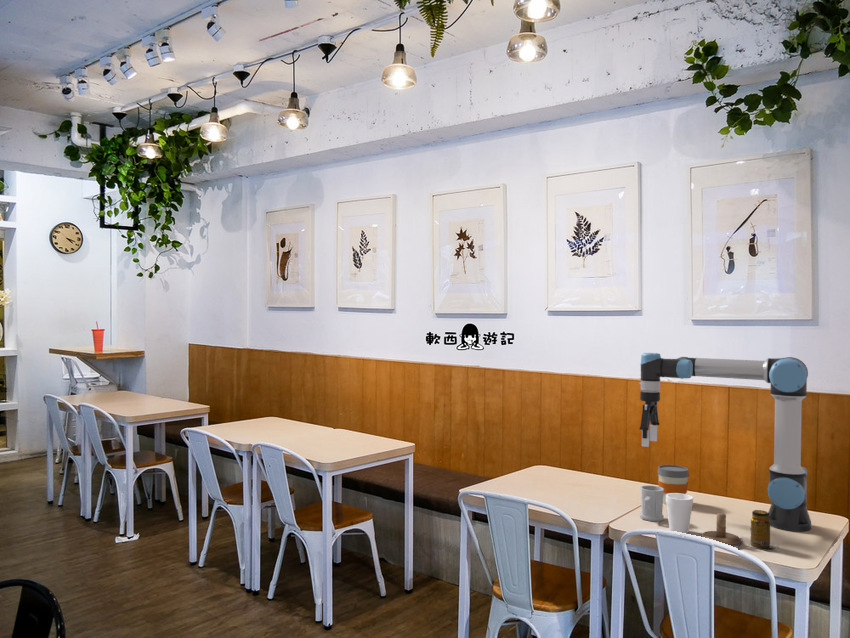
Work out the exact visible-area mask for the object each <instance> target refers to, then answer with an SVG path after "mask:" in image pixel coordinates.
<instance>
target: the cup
mask: <svg viewBox="0 0 850 638" xmlns="http://www.w3.org/2000/svg"><path fill="white" fill-rule="evenodd" d="M639 490H640V513H639V517H640V518H641V519H642V520H643V521H644V520H645V521H647V522H662V521H663V520H664V515H663V507H664V506H663V505H664V504H663V494H664V489H663V488H662V487H659V485H658V486H657V485H651V484H650V485H649V484H647V485H641V486H640V487H639Z"/></svg>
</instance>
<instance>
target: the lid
mask: <svg viewBox="0 0 850 638" xmlns="http://www.w3.org/2000/svg"><path fill="white" fill-rule="evenodd" d="M726 525H727V515H726V513H721V512H719V513H718V512H717V513H716V527H715V528H716V530H709V531H708V530H707V531H704V532H703V533H702V537H705V538H709V539H713V540H716V541H719V542H722V543H725V544H728V545H731V546H733V545H738V544H739V543H740V538H741V537H739V536H738V535H736V534H733V533H731V532H726V530H727V526H726ZM740 544H741V543H740Z"/></svg>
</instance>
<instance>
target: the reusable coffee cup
mask: <svg viewBox="0 0 850 638" xmlns="http://www.w3.org/2000/svg"><path fill="white" fill-rule="evenodd" d="M657 475H658V479H657V481H658V487H662V488H663V489H664V494H663V505H666V506H667V504H666V494H669V493H681V494H686V495H687V493H688V486H689V482H688V479H689V476H690V474H689V468H687V467H685V466H682V465H677V464H676V465H675V464H661V465H659V466H657Z"/></svg>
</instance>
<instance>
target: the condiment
mask: <svg viewBox="0 0 850 638" xmlns="http://www.w3.org/2000/svg"><path fill="white" fill-rule="evenodd" d="M768 512H769V511H766V510H759V509H755V510H752V512H751V513H752V517H751V519H750V543H749V544H746V546H747V547H750V548H754V549H758V550H763V551H768V552H775V551H776V550H778V548H779V546H776V545H772V544H771V526H770V521H769V513H768Z"/></svg>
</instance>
